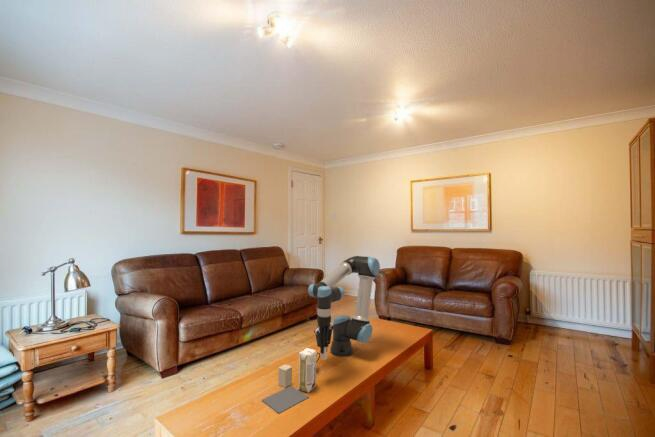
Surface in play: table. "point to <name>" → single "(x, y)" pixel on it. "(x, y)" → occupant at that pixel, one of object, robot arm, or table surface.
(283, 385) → the sandstone block
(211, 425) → the table surface
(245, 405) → the table surface
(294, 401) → the mat
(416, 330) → the table surface
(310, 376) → the juice carton
